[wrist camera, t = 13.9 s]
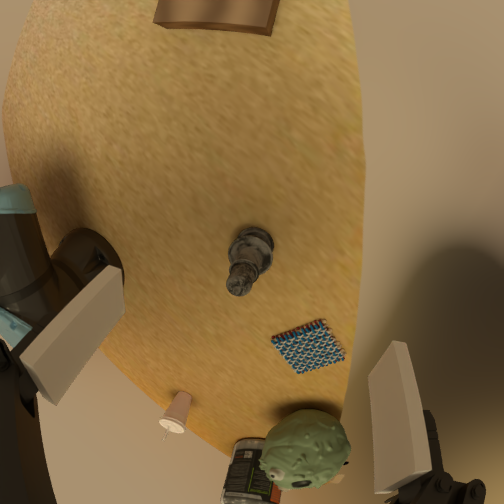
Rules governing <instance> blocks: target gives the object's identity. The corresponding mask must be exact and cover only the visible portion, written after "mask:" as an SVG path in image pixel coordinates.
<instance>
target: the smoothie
mask: <svg viewBox="0 0 504 504" xmlns="http://www.w3.org/2000/svg"><path fill="white" fill-rule="evenodd" d="M191 400H192V397H191V395H190V394H188V393H186V392H183V391H179V392H178V393H177V395H176V396H175V398H174V399H173V401H172V403H171V404H170V406H169V407H168V409H167V410H166V412H165V413H164V415H163V416H162V417H160V420H159V423H160V424H161V425H162V426H163V427H164V428H166V429H167V430H166V432H165V435H164V437H163V439H162V440H163V441H164V440H165V439H166V436H167V434H168V432H169V431H172V432H175V433H184V432H185V430H186V427H185V425H186V421H187V417H188V412H189V408H190V404H191Z"/></svg>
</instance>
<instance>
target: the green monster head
mask: <svg viewBox="0 0 504 504" xmlns="http://www.w3.org/2000/svg"><path fill="white" fill-rule="evenodd" d="M350 451H351V446H350V443H349V441H348V440H347V436H346V434H345V431H344V428H343V426H342V425H341V424H340V422H339V421H338V420H337V419H336V418H334V417H333V416H331V415H330V414H328V413H326V412H323V411H319V410H316V409H302V410H298V411H296V412H294V413H292V414H290V415H288V416H286V417H285V418H284V419H283V420H282V421H281V422H280V423H278V424H277V425H276V426H274V427H273V428H272V429H271V430H270V431H269V432H268V434H267V436H266V439H265V444H264V446H263V450H262V456H261V458H260V459H258V460H259V461H260V466H259V467H260V469H261V470H265V473H267V474H266V476H267V478H269V480H270V481H273V482H274V483H275V484H276V485H277V486H278V489H280V490H281V491H285V492H288V491H289V490H291V489H301V488H312V487H316V488H317V489H318V488H320V486H321V485H323V484H325V483H327V482H328V481H329V480H330V479H331V478H333V477H334V476H335V475H336V474H337V473H338V472H339V470H340V468H341V467H342V465H343V464H344V462H345V461H346V459H347V458H348V456H349V454H350Z"/></svg>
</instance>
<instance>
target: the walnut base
mask: <svg viewBox="0 0 504 504" xmlns="http://www.w3.org/2000/svg"><path fill="white" fill-rule="evenodd" d="M279 1H280V0H159V1H158V5H157V8H156V12H155V16H154V19H153V23H155V24H158V25H160V26H162V27H164V28H167V29H210V30H224V31H235V32H244V33H252V34H259V35H266V36H271V33H272V28H273V24H274V20H275V16H276V12H277V9H278V5H279Z"/></svg>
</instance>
